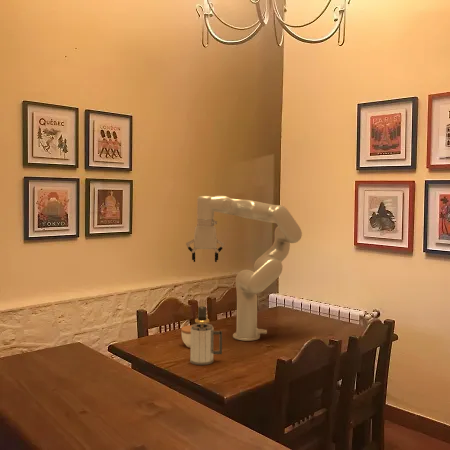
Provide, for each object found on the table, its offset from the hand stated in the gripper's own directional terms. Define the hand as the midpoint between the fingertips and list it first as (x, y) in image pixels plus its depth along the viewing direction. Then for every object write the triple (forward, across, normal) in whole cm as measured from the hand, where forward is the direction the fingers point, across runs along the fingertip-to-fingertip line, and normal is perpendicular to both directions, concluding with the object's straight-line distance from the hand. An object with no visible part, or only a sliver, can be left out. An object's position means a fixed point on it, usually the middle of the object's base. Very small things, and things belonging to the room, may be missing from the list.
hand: (205, 261), depth 224 cm
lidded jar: (+36, +5, +6) cm, 37 cm away
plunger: (+35, +2, +27) cm, 44 cm away
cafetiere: (+36, 0, +27) cm, 45 cm away
